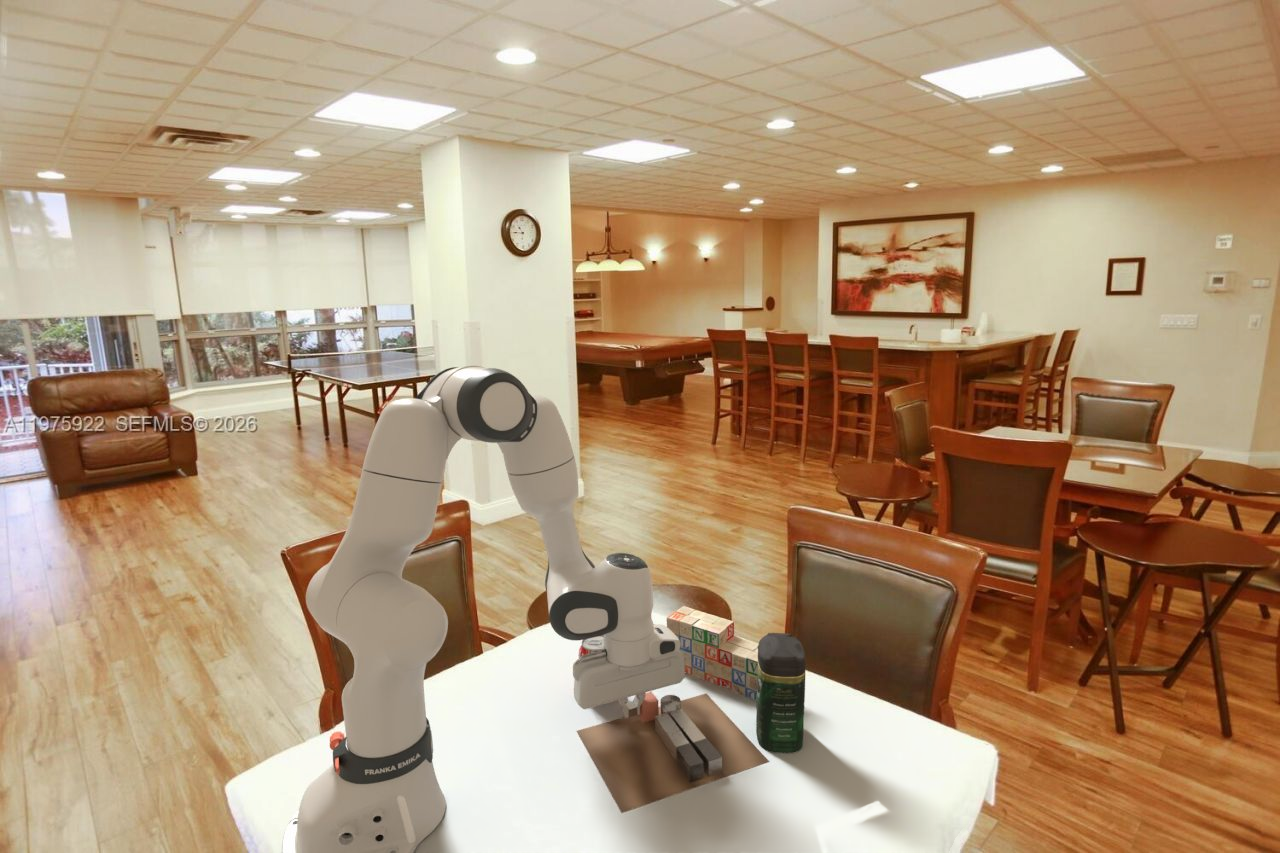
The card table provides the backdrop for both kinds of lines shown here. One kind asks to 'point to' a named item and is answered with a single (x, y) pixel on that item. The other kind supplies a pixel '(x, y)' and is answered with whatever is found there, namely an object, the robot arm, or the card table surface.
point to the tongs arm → (678, 740)
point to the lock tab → (649, 708)
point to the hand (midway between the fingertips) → (631, 714)
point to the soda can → (591, 645)
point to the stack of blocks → (715, 651)
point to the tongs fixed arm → (698, 743)
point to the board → (662, 754)
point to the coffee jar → (780, 693)
